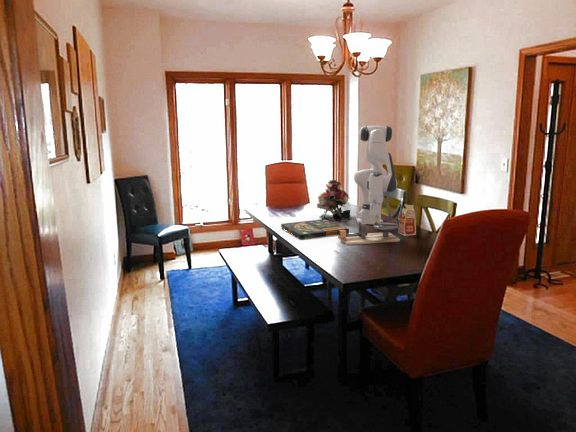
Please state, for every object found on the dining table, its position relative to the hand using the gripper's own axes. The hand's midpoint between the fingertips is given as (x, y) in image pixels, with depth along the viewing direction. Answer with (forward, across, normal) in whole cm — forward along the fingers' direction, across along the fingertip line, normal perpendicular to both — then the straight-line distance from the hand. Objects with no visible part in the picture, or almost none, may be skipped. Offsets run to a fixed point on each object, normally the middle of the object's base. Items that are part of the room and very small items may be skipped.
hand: (375, 220), depth 273 cm
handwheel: (+4, 0, -7) cm, 8 cm away
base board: (+11, -5, +3) cm, 13 cm away
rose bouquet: (+12, +50, +42) cm, 67 cm away
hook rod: (+9, -10, +12) cm, 18 cm away
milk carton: (+12, +16, -18) cm, 27 cm away
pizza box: (+12, +8, +44) cm, 46 cm away
